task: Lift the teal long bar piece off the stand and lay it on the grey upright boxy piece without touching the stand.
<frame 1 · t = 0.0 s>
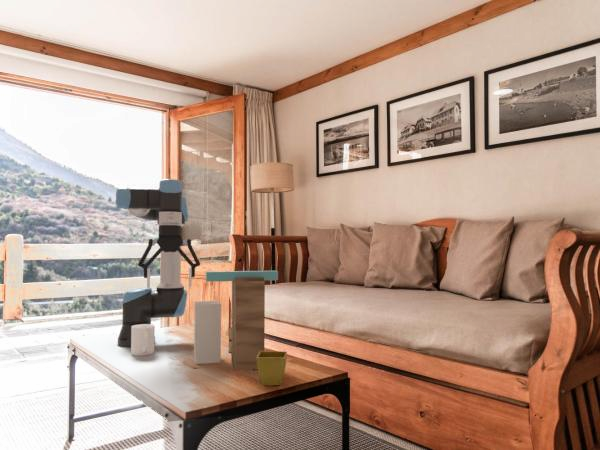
hand: (169, 287, 158), 28 cm above the table, tool pointing down, fingers open, 13 cm apart
stand: (247, 366, 164), on the table
teal long bar piece: (242, 280, 164), point 30 cm above the table, touching stand
grey upright boxy piece: (207, 360, 172), on the table
mug: (143, 355, 181), on the table
flower pot: (271, 384, 144), on the table
puzzle cube: (246, 352, 186), on the table
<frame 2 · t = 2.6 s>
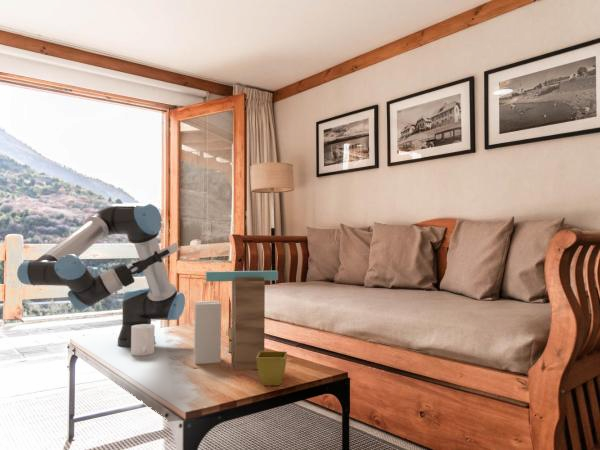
hand: (177, 246, 160), 42 cm above the table, tool pointing upward, fingers open, 13 cm apart
nothing on the table moved.
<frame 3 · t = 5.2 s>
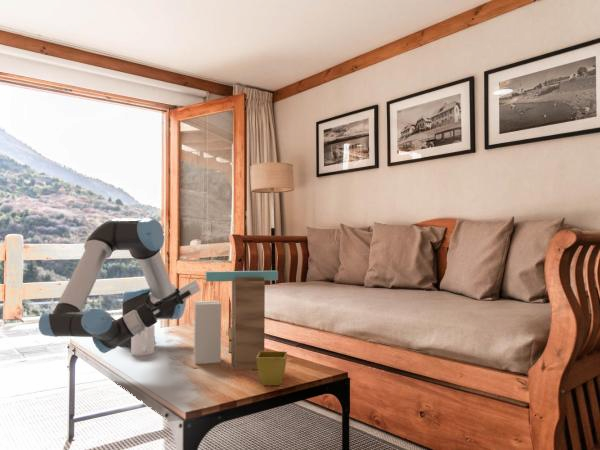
hand: (198, 284, 160), 29 cm above the table, tool pointing upward, fingers open, 13 cm apart
nothing on the table moved.
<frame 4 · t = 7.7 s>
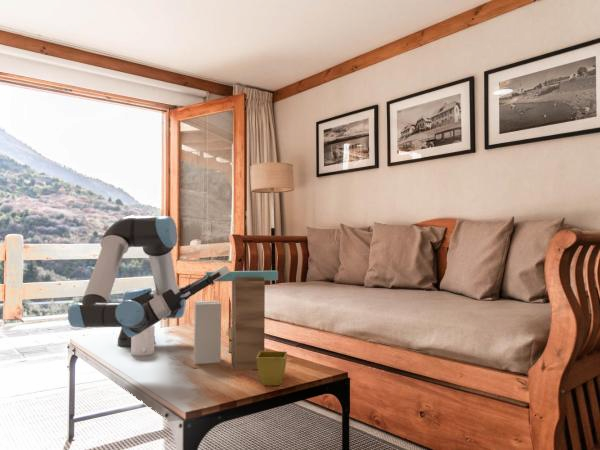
hand: (227, 268, 163), 34 cm above the table, tool pointing upward, fingers closed on teal long bar piece, 3 cm apart
teal long bar piece: (242, 280, 164), point 30 cm above the table, touching gripper, stand
everything else where it was.
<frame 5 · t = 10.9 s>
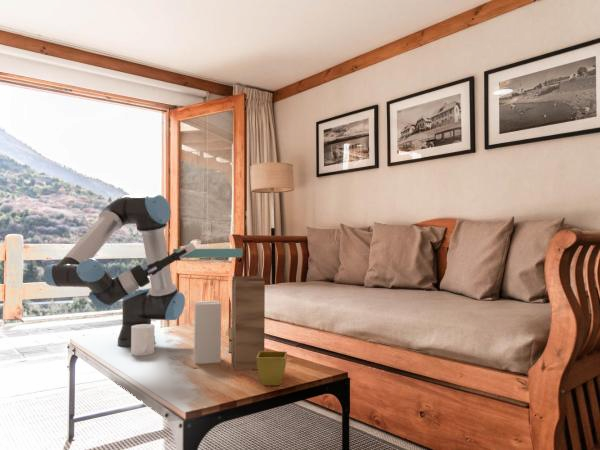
hand: (193, 245, 172), 42 cm above the table, tool pointing upward, fingers closed on teal long bar piece, 3 cm apart
teal long bar piece: (208, 257, 173), point 38 cm above the table, touching gripper
everything else where it was.
when the fingers open (27 cm above the table, at t = 14.2 s): teal long bar piece drops 2 cm, resting on grey upright boxy piece.
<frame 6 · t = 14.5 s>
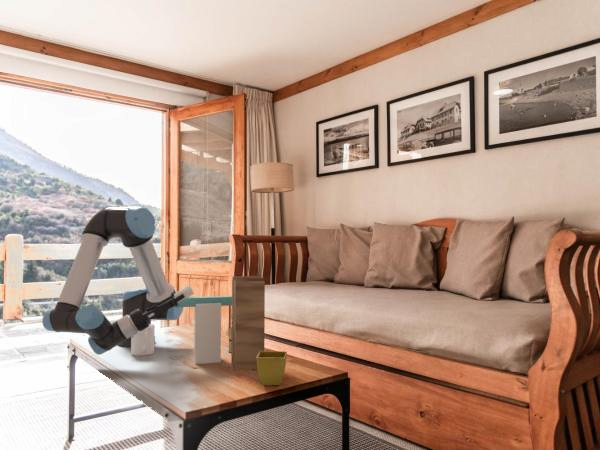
hand: (191, 289, 171), 26 cm above the table, tool pointing upward, fingers open, 8 cm apart
teal long bar piece: (207, 305, 172), point 20 cm above the table, touching grey upright boxy piece
everything else where it was.
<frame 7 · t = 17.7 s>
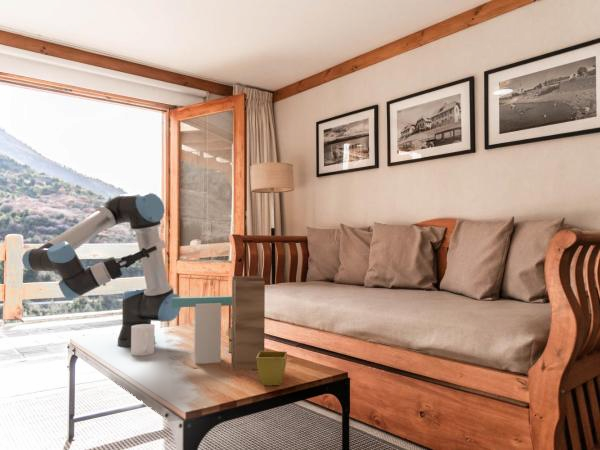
hand: (164, 243, 171), 43 cm above the table, tool pointing upward, fingers open, 13 cm apart
nothing on the table moved.
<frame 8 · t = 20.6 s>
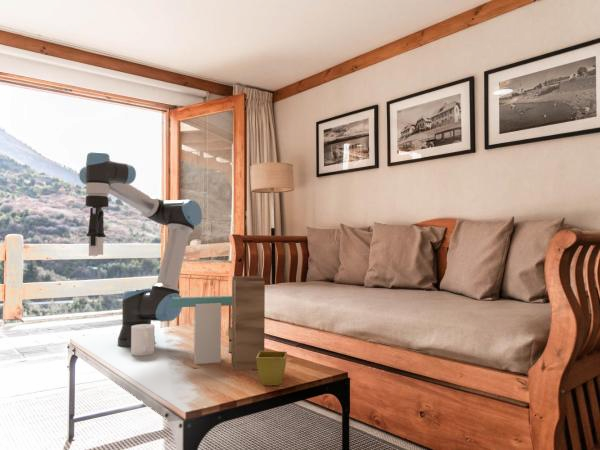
hand: (96, 255, 167), 39 cm above the table, tool pointing down, fingers open, 13 cm apart
nothing on the table moved.
at the end: teal long bar piece inside the target area on the grey upright boxy piece (0.1 cm from its centre), point 20.0 cm above the grey upright boxy piece's base; teal long bar piece touching grey upright boxy piece; the gripper is holding nothing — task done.
